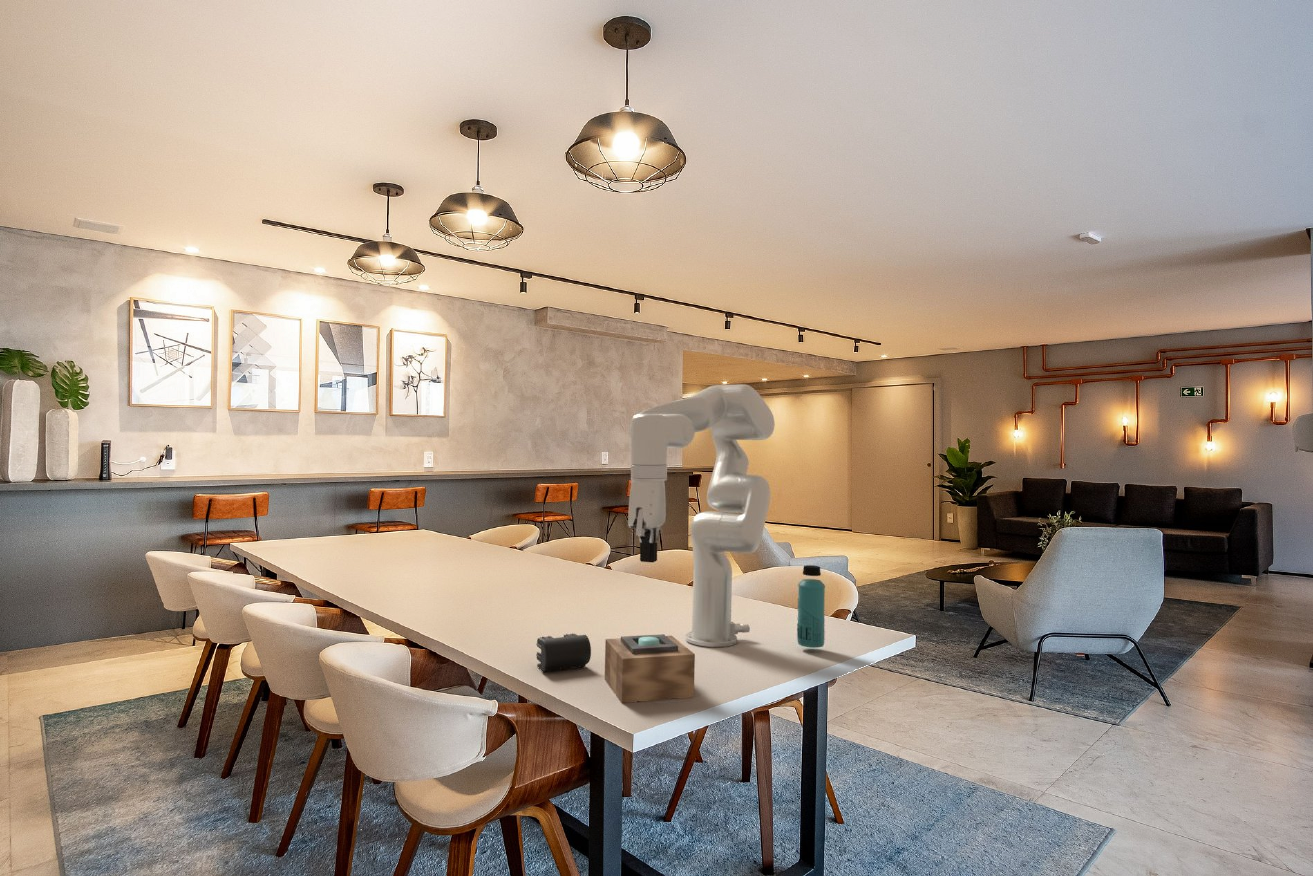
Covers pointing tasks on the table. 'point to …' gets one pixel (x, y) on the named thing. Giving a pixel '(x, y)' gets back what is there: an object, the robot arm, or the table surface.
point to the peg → (648, 641)
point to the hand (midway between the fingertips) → (648, 561)
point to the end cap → (563, 652)
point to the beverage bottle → (811, 609)
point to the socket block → (649, 669)
